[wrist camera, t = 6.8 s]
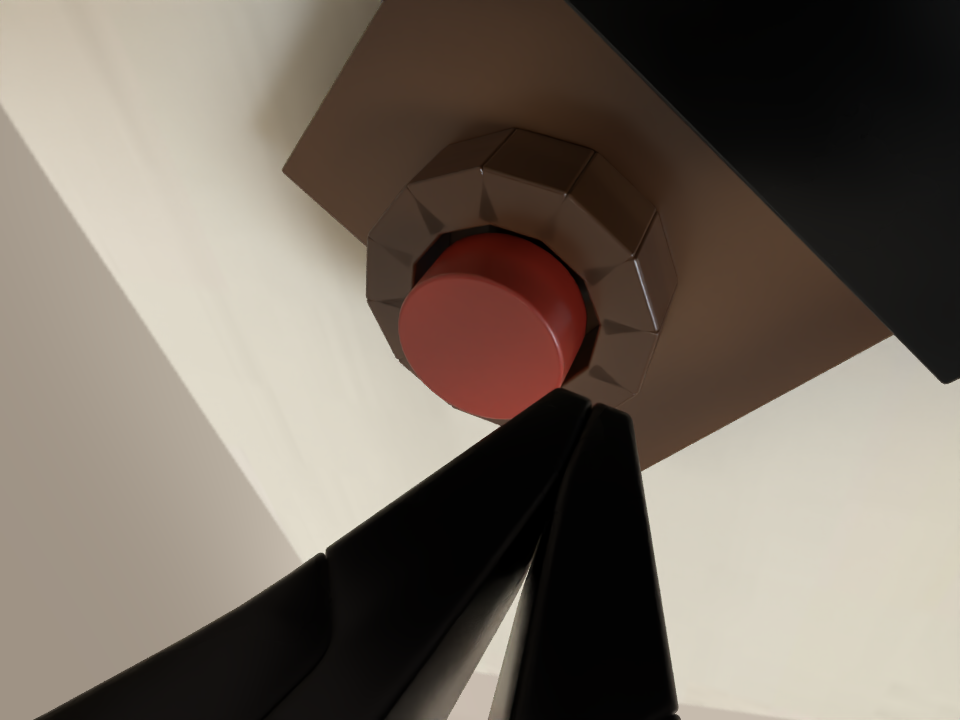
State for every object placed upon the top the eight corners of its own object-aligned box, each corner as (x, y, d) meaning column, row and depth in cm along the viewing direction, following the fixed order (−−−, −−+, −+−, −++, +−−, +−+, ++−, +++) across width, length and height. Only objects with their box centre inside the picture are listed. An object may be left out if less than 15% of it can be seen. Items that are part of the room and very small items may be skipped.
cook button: (623, 317, 16) (601, 369, 15) (519, 396, 19) (492, 445, 17) (493, 197, 16) (457, 239, 14) (403, 293, 18) (367, 337, 17)
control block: (903, 291, 17) (904, 393, 14) (634, 446, 22) (602, 539, 20) (484, -131, 15) (402, -99, 12) (307, 153, 21) (226, 214, 18)
